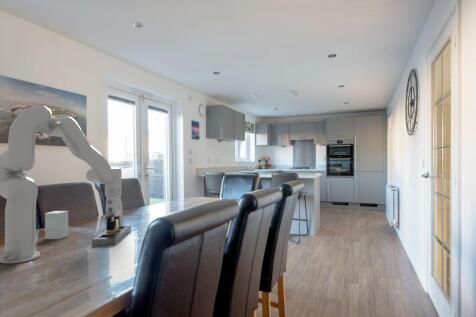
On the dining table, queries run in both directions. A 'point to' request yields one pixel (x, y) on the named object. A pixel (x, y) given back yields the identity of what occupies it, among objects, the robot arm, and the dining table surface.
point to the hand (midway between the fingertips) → (113, 227)
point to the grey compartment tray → (111, 237)
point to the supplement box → (56, 225)
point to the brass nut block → (115, 227)
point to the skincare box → (121, 216)
